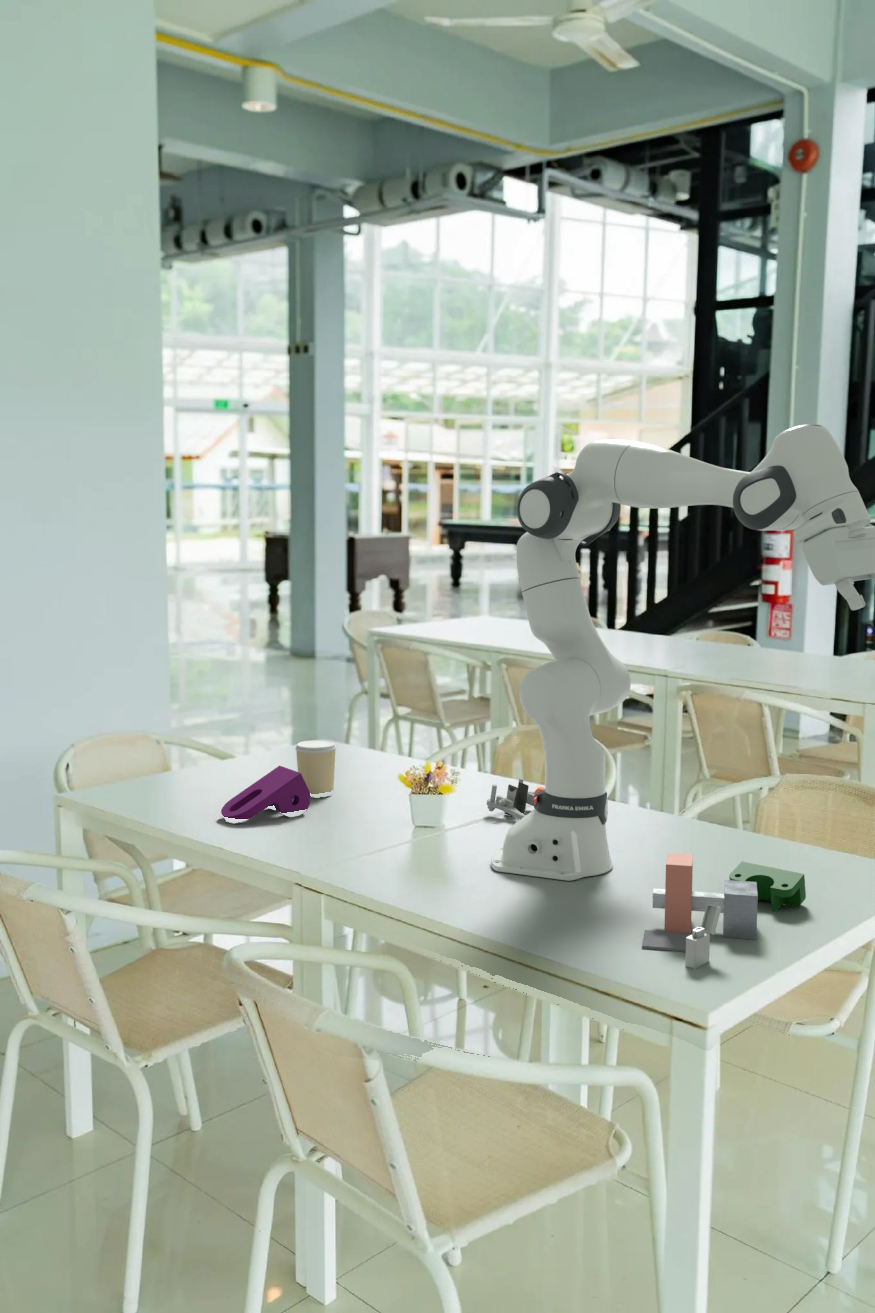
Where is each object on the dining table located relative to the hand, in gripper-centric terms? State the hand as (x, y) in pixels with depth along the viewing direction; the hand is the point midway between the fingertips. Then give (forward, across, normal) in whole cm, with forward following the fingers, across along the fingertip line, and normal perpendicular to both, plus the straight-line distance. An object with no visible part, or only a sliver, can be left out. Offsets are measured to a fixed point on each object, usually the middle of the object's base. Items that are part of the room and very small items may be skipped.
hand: (874, 605), depth 177 cm
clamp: (+38, -3, -40) cm, 56 cm away
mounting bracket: (-9, +24, -135) cm, 138 cm away
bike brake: (+11, -17, -97) cm, 99 cm away
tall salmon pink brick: (+36, +16, -43) cm, 59 cm away
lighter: (+41, +26, -34) cm, 59 cm away
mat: (+37, +23, -41) cm, 60 cm away
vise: (+37, +14, -40) cm, 57 cm away
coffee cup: (-12, +3, -142) cm, 142 cm away
